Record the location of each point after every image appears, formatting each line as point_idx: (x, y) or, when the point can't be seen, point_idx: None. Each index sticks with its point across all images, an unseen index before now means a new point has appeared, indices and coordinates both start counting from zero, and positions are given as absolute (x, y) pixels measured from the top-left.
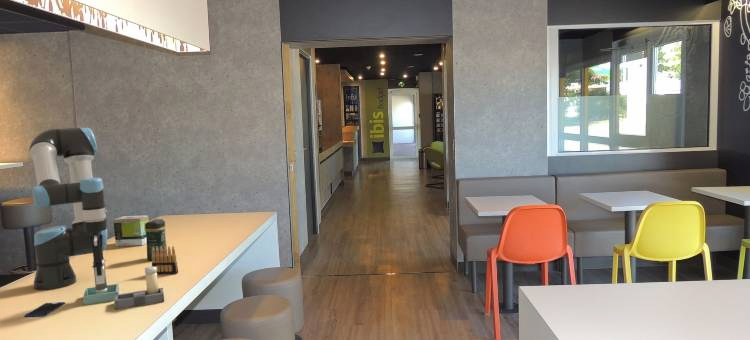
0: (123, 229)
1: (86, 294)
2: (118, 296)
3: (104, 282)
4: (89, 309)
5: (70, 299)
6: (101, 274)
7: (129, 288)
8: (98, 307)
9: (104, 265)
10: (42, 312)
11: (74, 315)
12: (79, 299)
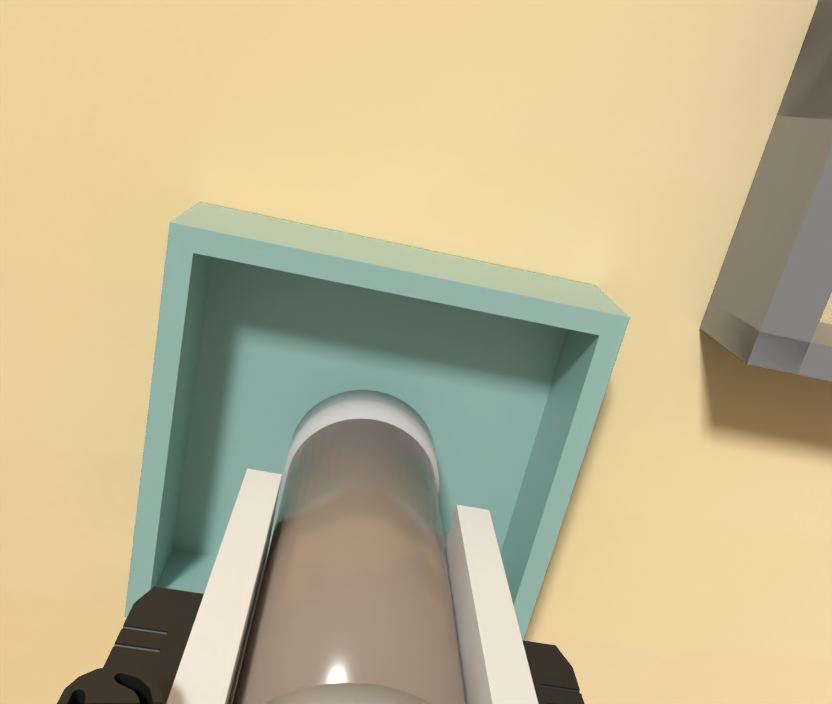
0: None
1: None
2: (804, 333)
3: (459, 508)
4: (696, 580)
5: None
6: (547, 654)
7: (128, 41)
8: (704, 504)
9: (417, 695)
10: None
11: (767, 696)
12: None
